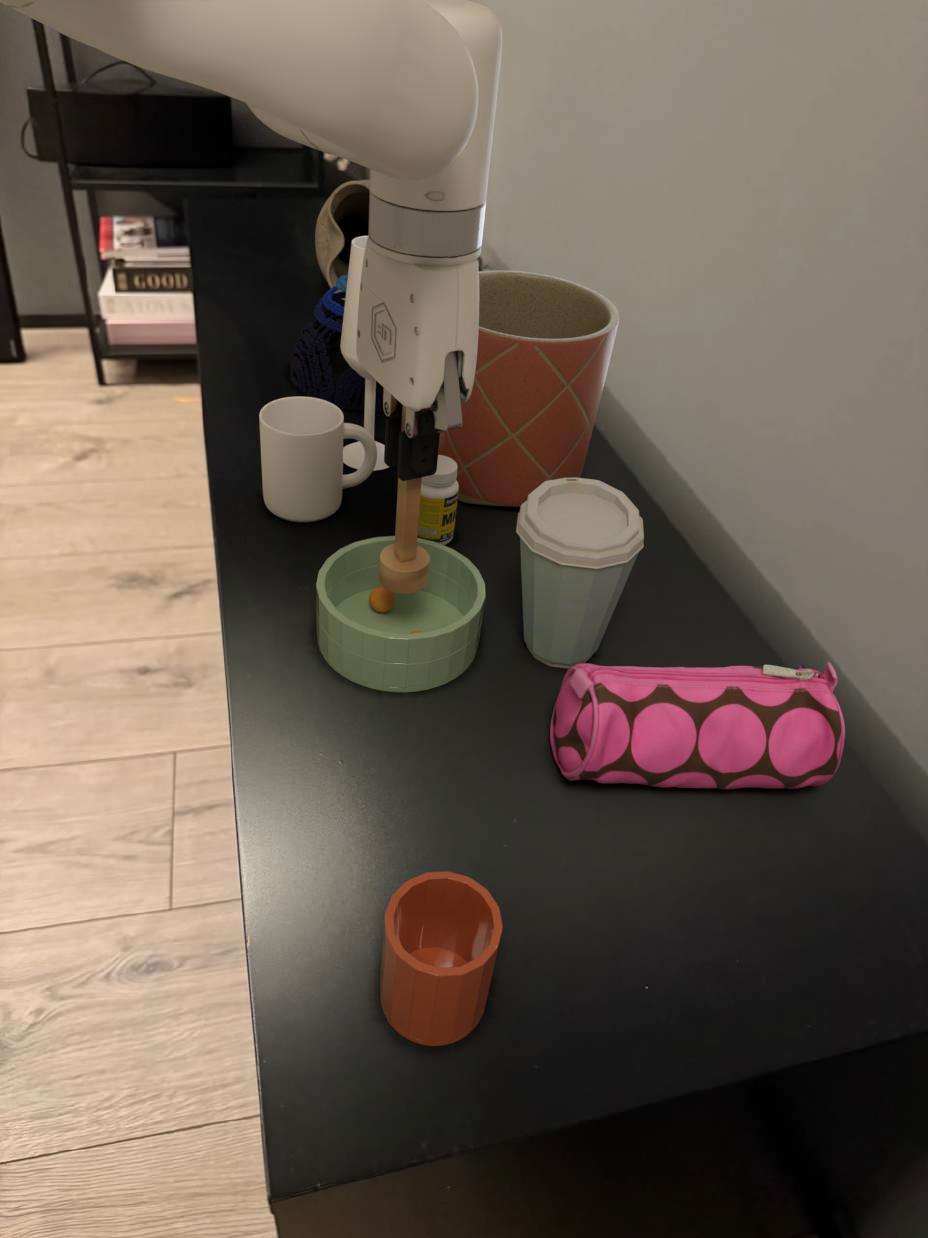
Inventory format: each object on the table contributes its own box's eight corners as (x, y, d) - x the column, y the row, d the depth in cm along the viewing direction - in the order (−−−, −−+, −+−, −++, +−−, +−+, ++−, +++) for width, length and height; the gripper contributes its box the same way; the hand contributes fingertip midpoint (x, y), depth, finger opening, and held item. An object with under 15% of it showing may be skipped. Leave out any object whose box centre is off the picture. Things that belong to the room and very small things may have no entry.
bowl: (360, 713, 75) (361, 658, 71) (291, 610, 84) (290, 557, 80) (508, 663, 81) (517, 611, 78) (430, 573, 91) (434, 522, 87)
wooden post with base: (392, 599, 77) (402, 420, 66) (370, 571, 79) (376, 395, 69) (436, 587, 78) (453, 411, 68) (413, 560, 81) (426, 387, 71)
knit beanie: (317, 419, 113) (316, 303, 103) (273, 351, 126) (268, 243, 117) (465, 402, 120) (477, 292, 111) (409, 339, 134) (415, 237, 124)
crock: (411, 1066, 54) (420, 996, 48) (361, 972, 58) (365, 898, 53) (506, 1015, 56) (524, 944, 51) (452, 929, 61) (464, 855, 56)
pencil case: (780, 717, 80) (819, 628, 73) (827, 806, 72) (875, 716, 66) (538, 721, 76) (557, 629, 70) (561, 815, 69) (585, 721, 63)
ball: (375, 620, 83) (376, 599, 82) (364, 605, 85) (364, 584, 83) (399, 613, 84) (400, 593, 83) (387, 598, 86) (388, 578, 84)
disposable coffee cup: (628, 684, 81) (669, 544, 71) (509, 689, 79) (534, 545, 69) (597, 608, 89) (629, 472, 79) (487, 610, 87) (507, 472, 77)
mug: (367, 477, 103) (370, 392, 97) (384, 518, 97) (388, 430, 91) (258, 485, 100) (254, 397, 93) (269, 528, 94) (265, 437, 87)
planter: (606, 515, 102) (646, 342, 89) (438, 521, 98) (454, 340, 85) (558, 431, 116) (587, 271, 104) (409, 433, 112) (420, 267, 99)
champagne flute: (406, 464, 106) (420, 252, 91) (353, 475, 103) (358, 257, 88) (382, 437, 111) (391, 230, 95) (329, 446, 108) (330, 234, 93)
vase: (268, 170, 148) (300, 171, 124) (396, 147, 153) (450, 144, 129) (299, 309, 158) (334, 334, 135) (418, 283, 163) (472, 304, 140)
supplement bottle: (445, 552, 94) (452, 481, 88) (401, 541, 94) (406, 469, 89) (459, 528, 97) (467, 458, 92) (417, 518, 98) (422, 447, 93)
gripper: (324, 192, 64) (324, 431, 75) (433, 270, 54) (414, 532, 65) (420, 186, 67) (406, 416, 79) (539, 259, 57) (503, 510, 69)
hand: (410, 468), depth 72 cm, fingers closed on wooden post with base, 1 cm apart
